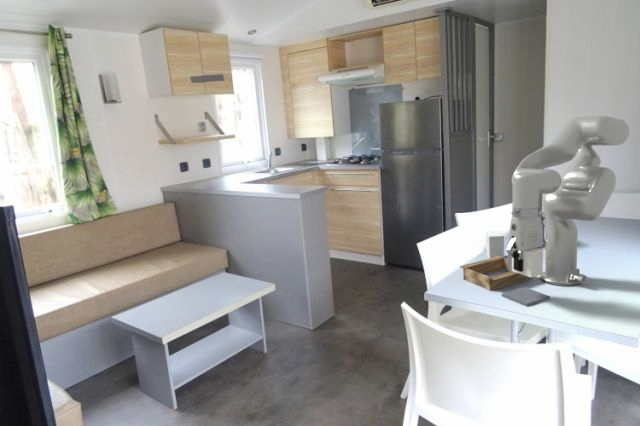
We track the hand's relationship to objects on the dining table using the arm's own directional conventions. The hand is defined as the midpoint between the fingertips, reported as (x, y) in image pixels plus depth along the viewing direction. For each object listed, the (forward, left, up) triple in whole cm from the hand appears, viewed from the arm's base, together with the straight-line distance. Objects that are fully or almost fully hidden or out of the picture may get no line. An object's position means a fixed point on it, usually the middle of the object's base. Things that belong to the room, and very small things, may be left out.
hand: (525, 268), depth 142 cm
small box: (+34, -21, -10) cm, 41 cm away
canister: (+40, -46, -10) cm, 62 cm away
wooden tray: (+17, -5, -10) cm, 20 cm away
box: (0, 0, -1) cm, 1 cm away
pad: (0, 0, -10) cm, 10 cm away
